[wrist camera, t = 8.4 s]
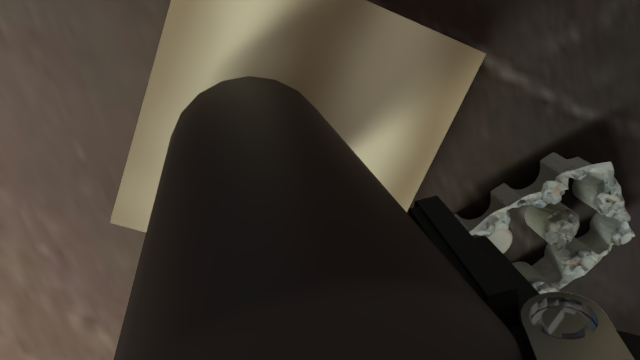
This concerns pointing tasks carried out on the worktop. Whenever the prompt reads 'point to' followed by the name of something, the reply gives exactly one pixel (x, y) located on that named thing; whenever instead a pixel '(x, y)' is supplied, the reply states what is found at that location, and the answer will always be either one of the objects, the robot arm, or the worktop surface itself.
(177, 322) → the vinegar
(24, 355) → the worktop surface
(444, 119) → the maple base
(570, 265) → the egg carton
